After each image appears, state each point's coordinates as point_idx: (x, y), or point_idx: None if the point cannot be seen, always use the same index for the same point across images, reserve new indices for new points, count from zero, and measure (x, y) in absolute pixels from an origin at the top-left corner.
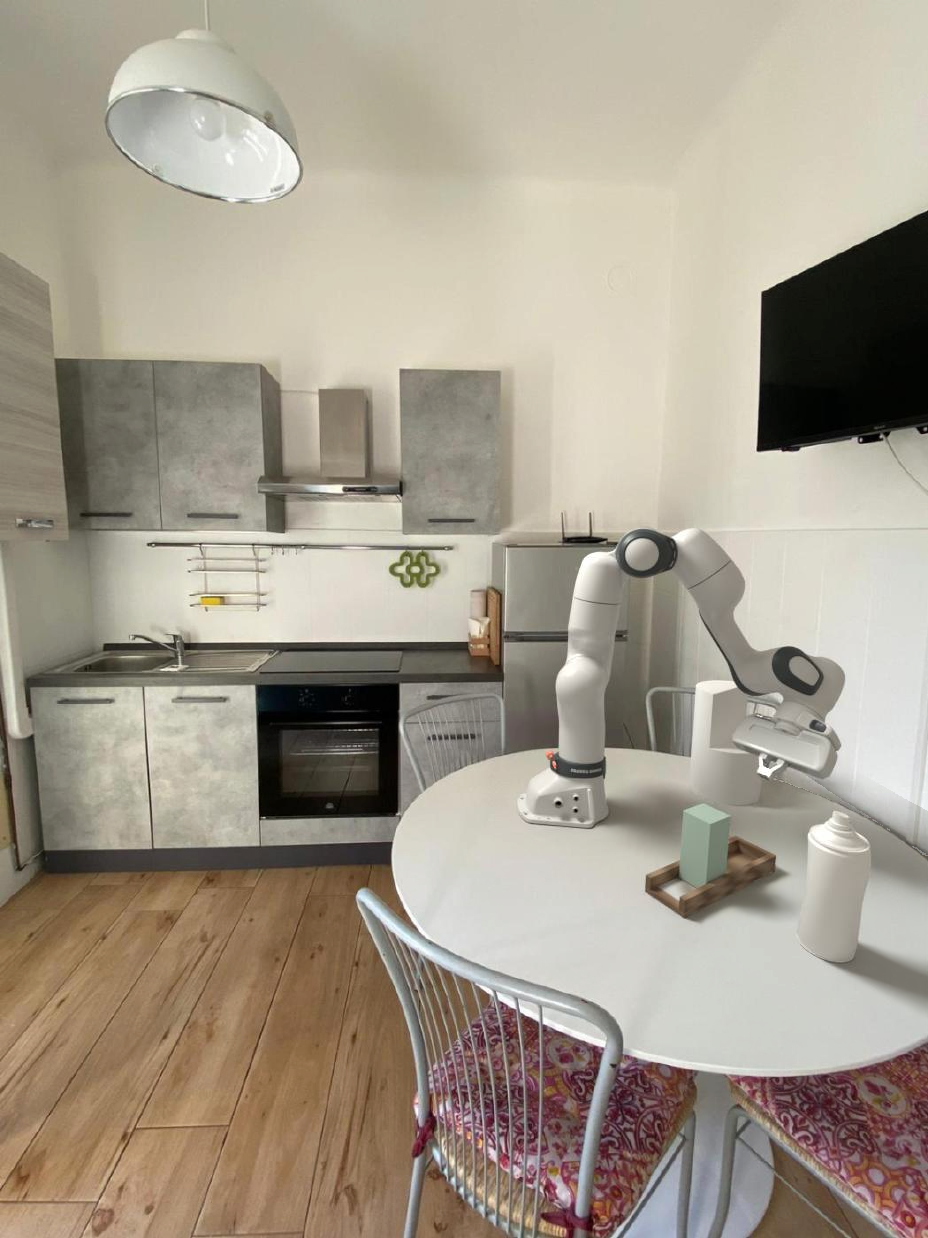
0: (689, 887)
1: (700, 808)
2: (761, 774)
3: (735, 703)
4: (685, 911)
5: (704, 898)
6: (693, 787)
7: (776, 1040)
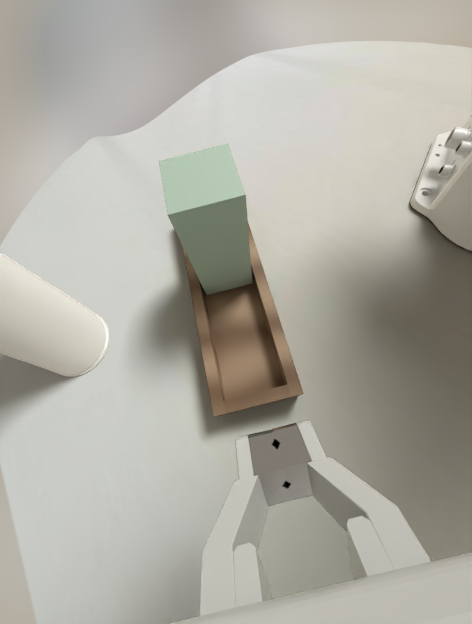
0: None
1: (223, 176)
2: (280, 427)
3: None
4: None
5: None
6: None
7: (41, 211)
